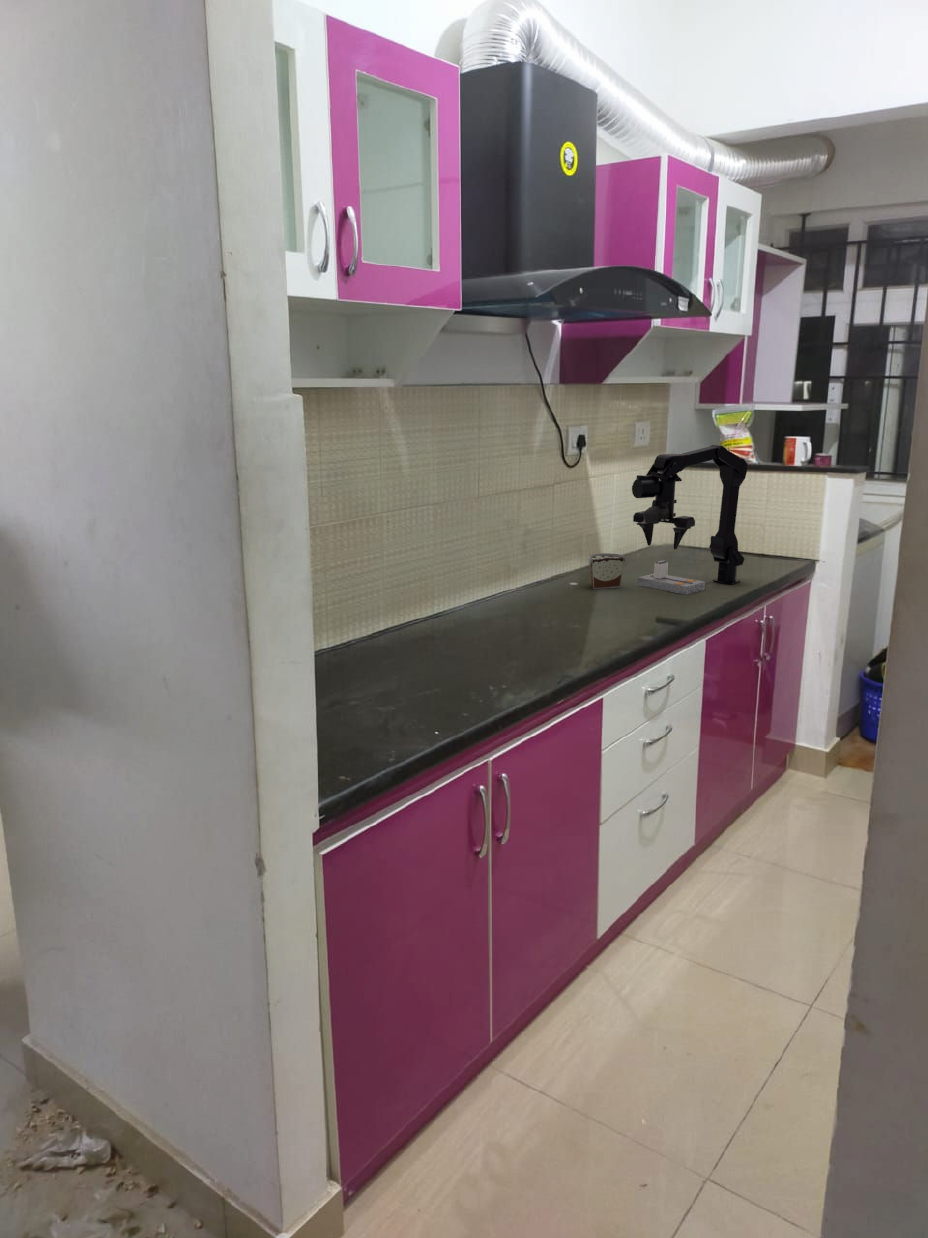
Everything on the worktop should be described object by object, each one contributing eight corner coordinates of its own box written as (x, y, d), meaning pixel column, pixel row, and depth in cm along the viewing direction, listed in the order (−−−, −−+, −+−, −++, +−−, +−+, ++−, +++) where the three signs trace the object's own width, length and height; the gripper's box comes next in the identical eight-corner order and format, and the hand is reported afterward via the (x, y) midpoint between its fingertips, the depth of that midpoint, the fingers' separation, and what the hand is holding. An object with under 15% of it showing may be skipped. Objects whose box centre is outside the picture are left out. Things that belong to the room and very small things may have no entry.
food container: (615, 582, 295) (616, 551, 292) (624, 586, 289) (626, 555, 286) (580, 585, 291) (581, 554, 288) (589, 589, 285) (590, 557, 283)
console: (655, 580, 298) (656, 572, 297) (704, 589, 285) (705, 581, 285) (637, 585, 291) (638, 577, 290) (686, 594, 279) (687, 586, 278)
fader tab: (660, 575, 293) (661, 559, 291) (667, 576, 291) (668, 560, 290) (653, 577, 290) (654, 561, 288) (660, 578, 288) (661, 562, 287)
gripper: (624, 496, 279) (621, 546, 283) (678, 502, 267) (674, 554, 271) (644, 493, 287) (641, 542, 291) (697, 498, 275) (694, 549, 279)
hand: (662, 547), depth 283 cm, fingers open, 9 cm apart
